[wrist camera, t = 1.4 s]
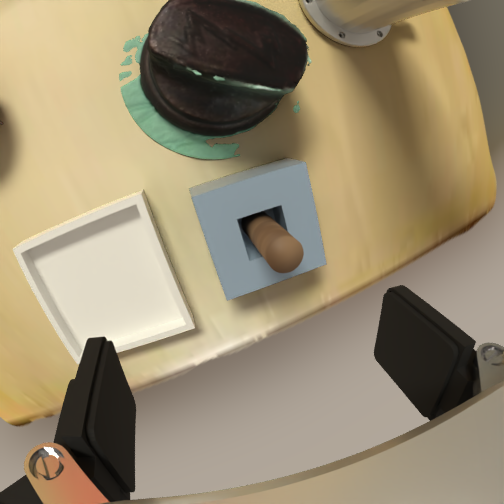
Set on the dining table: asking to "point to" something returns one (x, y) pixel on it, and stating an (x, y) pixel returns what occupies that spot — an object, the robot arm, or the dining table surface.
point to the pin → (273, 242)
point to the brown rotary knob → (211, 73)
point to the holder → (250, 202)
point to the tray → (106, 277)
